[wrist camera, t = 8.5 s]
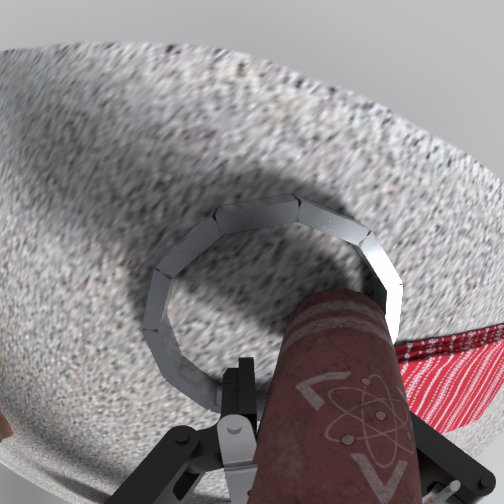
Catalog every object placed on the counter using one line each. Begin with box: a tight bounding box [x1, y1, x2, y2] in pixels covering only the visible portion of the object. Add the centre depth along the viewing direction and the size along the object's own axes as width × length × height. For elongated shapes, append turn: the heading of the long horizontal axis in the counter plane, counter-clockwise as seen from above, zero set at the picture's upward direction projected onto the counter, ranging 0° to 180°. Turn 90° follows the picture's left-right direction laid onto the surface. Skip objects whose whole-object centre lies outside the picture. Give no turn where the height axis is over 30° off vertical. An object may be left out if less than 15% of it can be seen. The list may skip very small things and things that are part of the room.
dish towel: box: [394, 324, 504, 435], centre depth 21 cm, size 17×24×3 cm
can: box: [247, 289, 422, 504], centre depth 10 cm, size 6×6×14 cm
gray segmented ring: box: [142, 194, 402, 421], centre depth 16 cm, size 15×15×2 cm
